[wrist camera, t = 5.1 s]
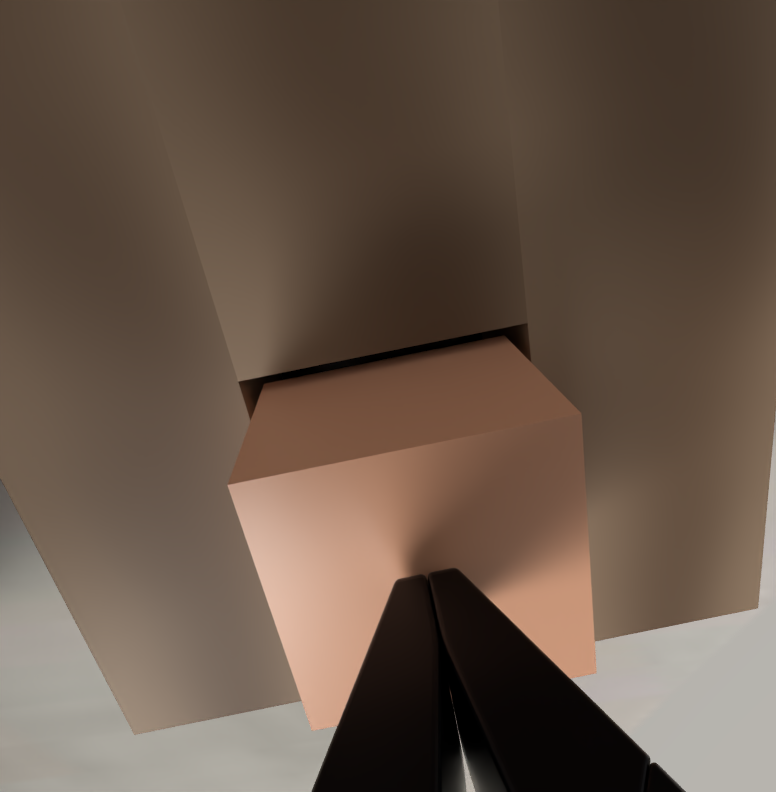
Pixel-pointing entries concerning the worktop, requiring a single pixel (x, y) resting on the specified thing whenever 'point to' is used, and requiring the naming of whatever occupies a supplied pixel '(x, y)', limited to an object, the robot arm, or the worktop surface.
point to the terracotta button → (415, 504)
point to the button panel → (375, 283)
